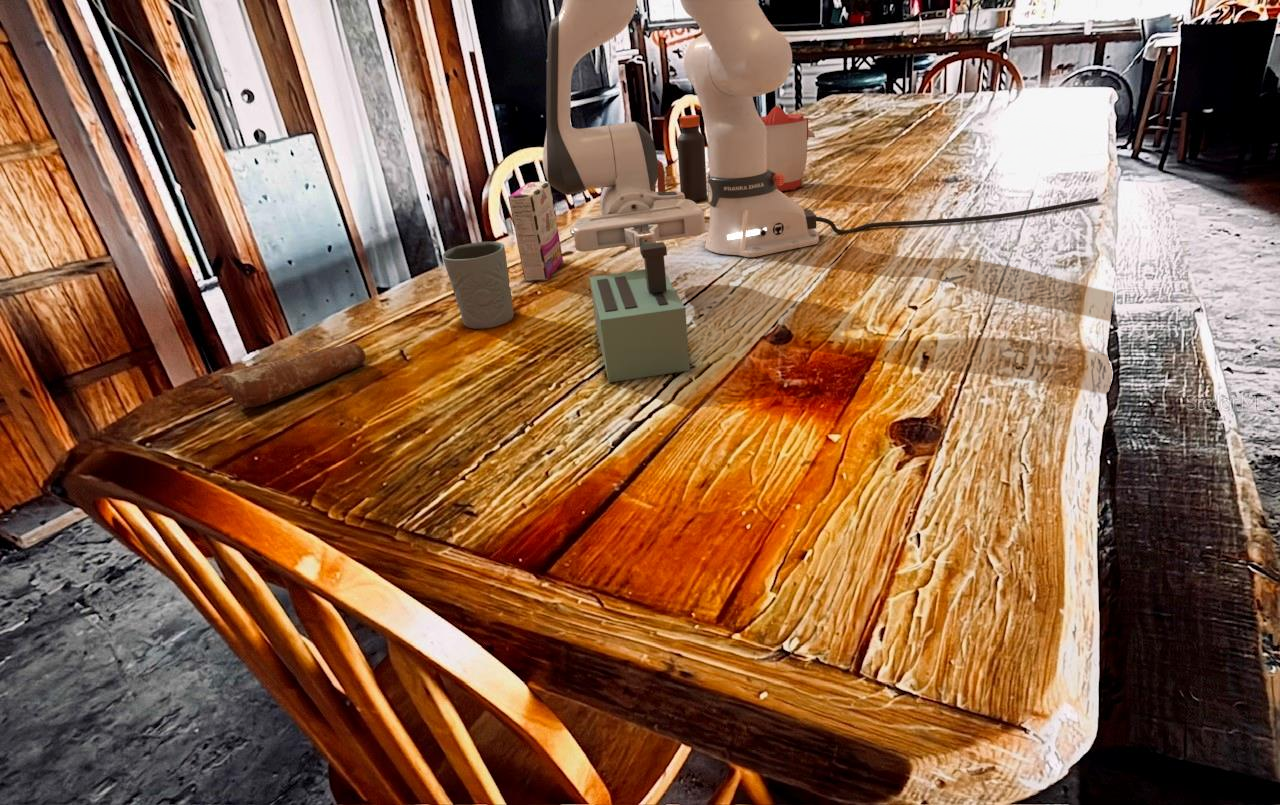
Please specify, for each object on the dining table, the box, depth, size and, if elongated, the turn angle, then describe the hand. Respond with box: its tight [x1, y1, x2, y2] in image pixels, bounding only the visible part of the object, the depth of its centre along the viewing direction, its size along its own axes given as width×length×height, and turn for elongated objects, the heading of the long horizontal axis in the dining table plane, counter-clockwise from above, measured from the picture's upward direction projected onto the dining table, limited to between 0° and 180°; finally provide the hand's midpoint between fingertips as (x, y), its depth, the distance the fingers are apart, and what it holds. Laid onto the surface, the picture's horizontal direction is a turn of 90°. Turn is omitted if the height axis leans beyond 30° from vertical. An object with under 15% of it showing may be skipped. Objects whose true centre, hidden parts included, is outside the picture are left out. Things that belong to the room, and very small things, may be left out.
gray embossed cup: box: [442, 241, 515, 330], centre depth 116 cm, size 10×10×12 cm
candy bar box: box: [508, 181, 564, 282], centre depth 135 cm, size 11×5×16 cm, turn 168°
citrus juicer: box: [759, 105, 816, 192], centre depth 179 cm, size 16×17×20 cm
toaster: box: [589, 268, 691, 383], centre depth 100 cm, size 11×18×9 cm, turn 8°
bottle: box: [676, 114, 708, 203], centre depth 177 cm, size 7×7×20 cm
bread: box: [218, 342, 367, 409], centre depth 100 cm, size 6×19×6 cm, turn 132°
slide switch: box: [639, 241, 668, 294], centre depth 95 cm, size 3×2×6 cm
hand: (645, 240), depth 102 cm, fingers closed
